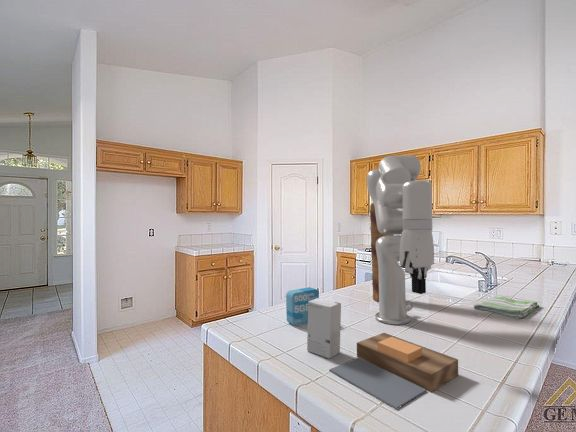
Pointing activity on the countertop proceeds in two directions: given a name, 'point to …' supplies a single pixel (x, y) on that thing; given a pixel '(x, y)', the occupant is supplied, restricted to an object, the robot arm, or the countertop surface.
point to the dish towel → (507, 307)
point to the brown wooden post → (374, 252)
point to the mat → (378, 382)
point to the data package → (299, 304)
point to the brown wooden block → (411, 364)
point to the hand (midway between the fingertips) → (418, 292)
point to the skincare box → (324, 327)
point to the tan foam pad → (400, 349)
